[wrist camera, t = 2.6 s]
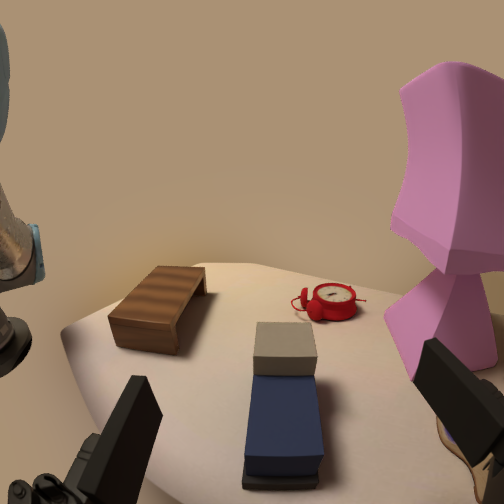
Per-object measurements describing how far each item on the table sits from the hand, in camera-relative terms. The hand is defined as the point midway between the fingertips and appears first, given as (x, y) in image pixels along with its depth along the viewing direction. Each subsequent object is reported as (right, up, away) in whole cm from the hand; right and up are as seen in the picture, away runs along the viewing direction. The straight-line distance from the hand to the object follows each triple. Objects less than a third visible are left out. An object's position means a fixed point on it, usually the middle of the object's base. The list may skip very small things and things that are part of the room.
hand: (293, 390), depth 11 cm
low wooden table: (-20, -7, +43) cm, 48 cm away
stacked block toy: (+2, -15, +18) cm, 24 cm away
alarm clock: (+14, -6, +45) cm, 48 cm away
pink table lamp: (+34, -11, +30) cm, 46 cm away
